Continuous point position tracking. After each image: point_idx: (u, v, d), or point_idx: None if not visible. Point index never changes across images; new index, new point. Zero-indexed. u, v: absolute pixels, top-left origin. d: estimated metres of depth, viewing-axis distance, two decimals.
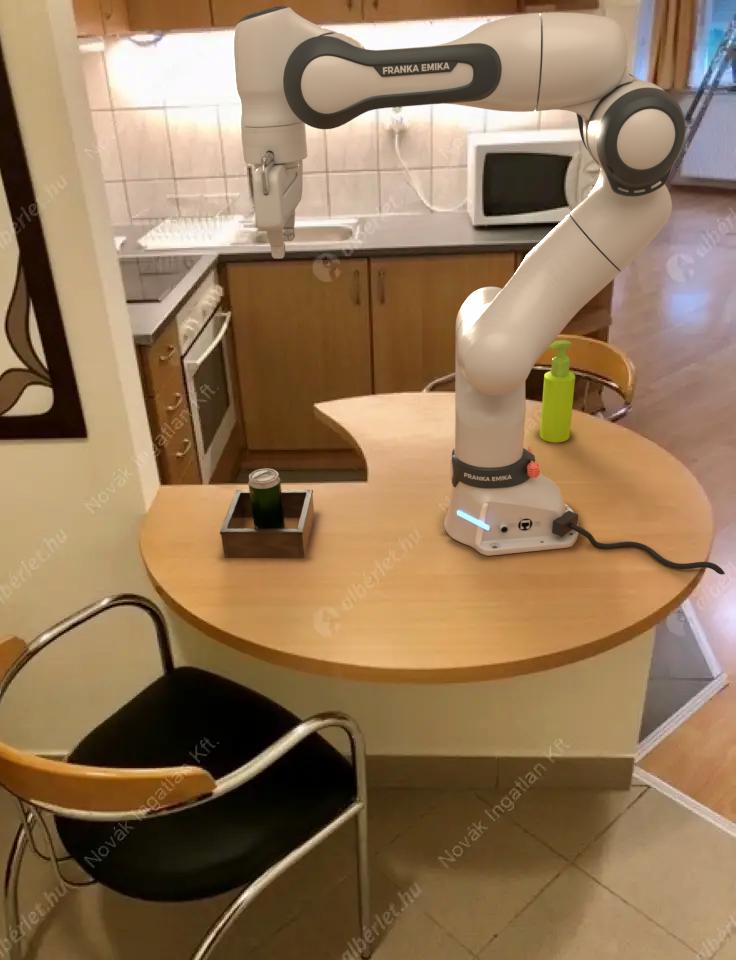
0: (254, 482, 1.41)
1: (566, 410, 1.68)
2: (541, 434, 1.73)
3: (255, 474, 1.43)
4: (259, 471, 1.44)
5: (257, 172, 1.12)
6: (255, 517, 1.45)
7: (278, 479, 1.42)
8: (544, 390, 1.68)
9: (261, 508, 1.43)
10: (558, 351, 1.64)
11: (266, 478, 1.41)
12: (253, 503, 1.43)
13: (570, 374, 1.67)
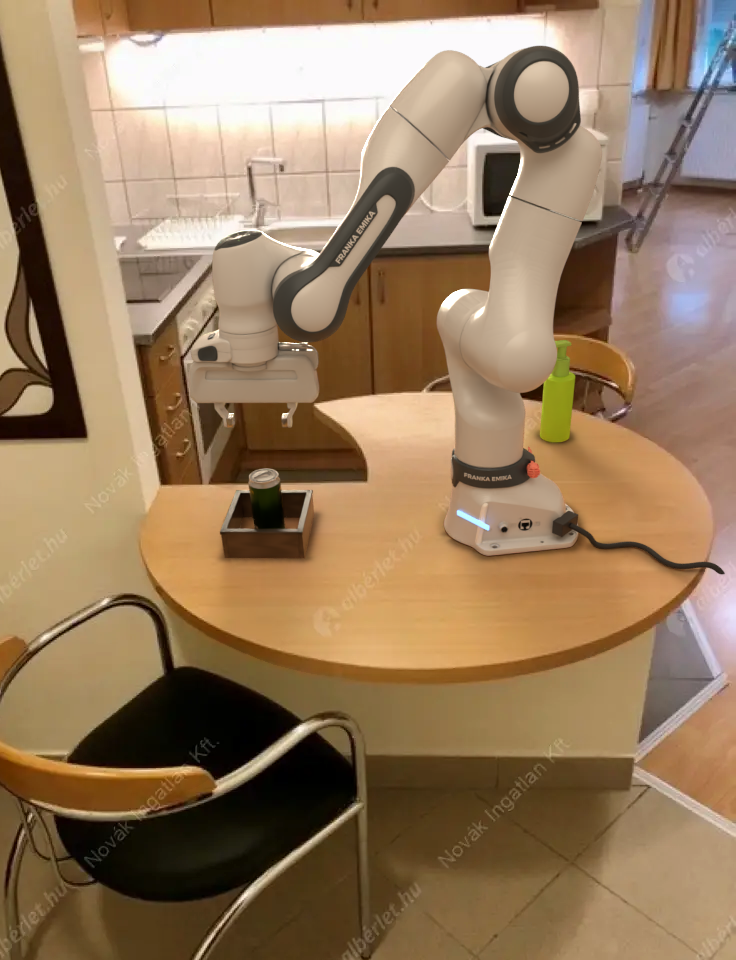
0: (254, 482, 1.41)
1: (566, 410, 1.68)
2: (541, 434, 1.73)
3: (255, 474, 1.43)
4: (259, 471, 1.44)
5: (303, 357, 1.29)
6: (255, 517, 1.45)
7: (278, 479, 1.42)
8: (544, 390, 1.68)
9: (261, 508, 1.43)
10: (558, 351, 1.64)
11: (266, 478, 1.41)
12: (253, 503, 1.43)
13: (570, 374, 1.67)
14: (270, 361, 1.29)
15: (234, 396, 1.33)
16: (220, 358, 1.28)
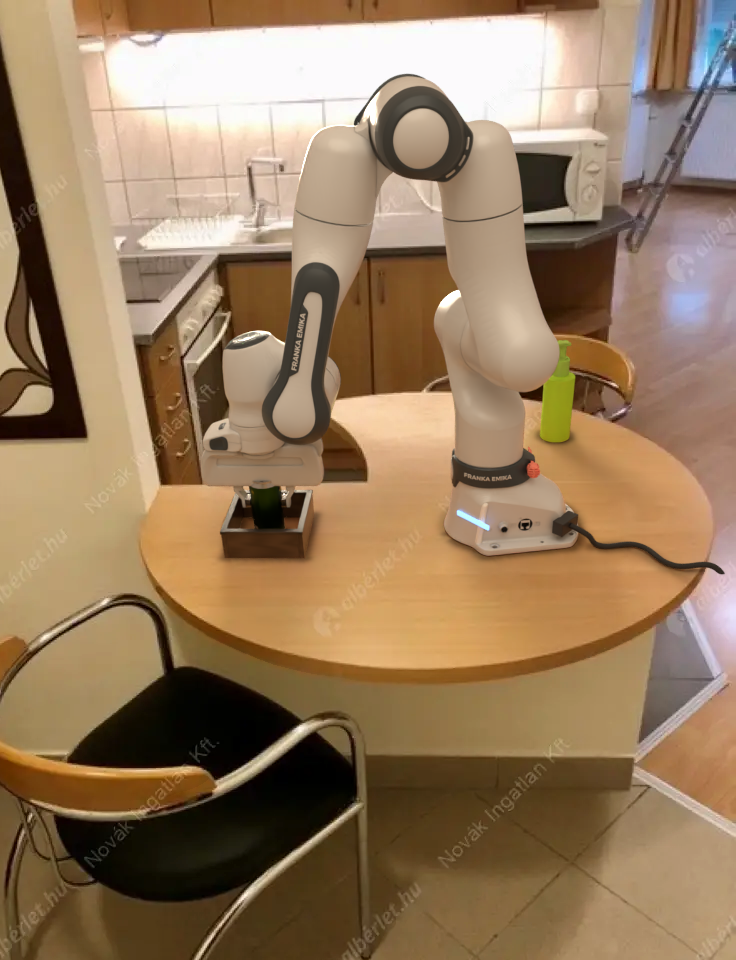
0: (254, 482, 1.41)
1: (566, 410, 1.68)
2: (541, 434, 1.73)
3: None
4: None
5: (308, 445, 1.37)
6: (255, 517, 1.45)
7: None
8: (544, 390, 1.68)
9: (261, 508, 1.43)
10: None
11: None
12: (253, 503, 1.43)
13: (570, 374, 1.67)
14: (277, 449, 1.37)
15: (244, 480, 1.41)
16: (230, 448, 1.36)
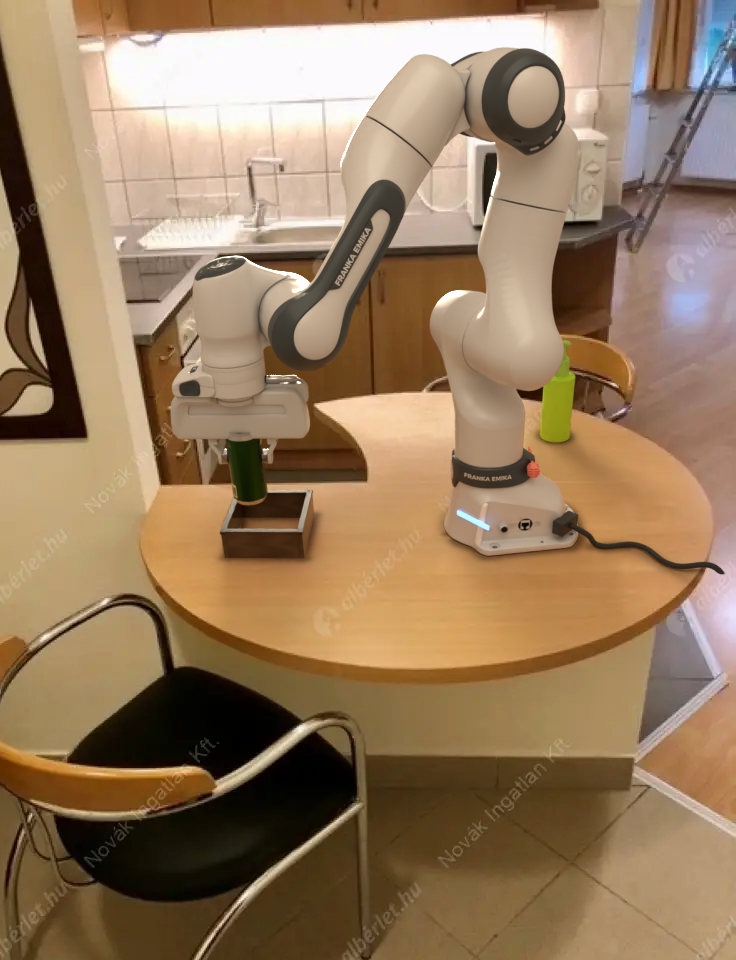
0: (231, 434, 1.24)
1: (566, 410, 1.68)
2: (541, 434, 1.73)
3: None
4: None
5: (292, 391, 1.21)
6: (233, 475, 1.28)
7: None
8: (544, 390, 1.68)
9: (239, 464, 1.26)
10: None
11: None
12: (230, 458, 1.27)
13: (570, 374, 1.67)
14: (257, 395, 1.21)
15: (219, 432, 1.25)
16: (203, 393, 1.20)
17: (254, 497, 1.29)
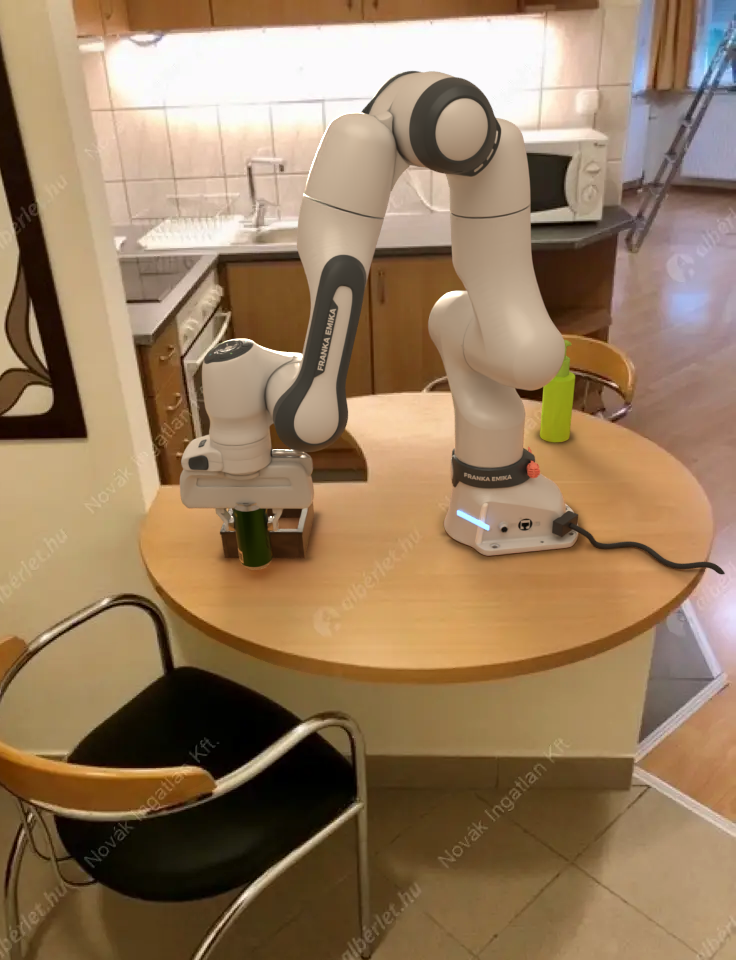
0: (238, 504, 1.29)
1: (566, 410, 1.68)
2: (541, 434, 1.73)
3: None
4: None
5: (297, 464, 1.25)
6: (239, 542, 1.33)
7: None
8: (544, 390, 1.68)
9: (245, 532, 1.31)
10: None
11: None
12: (237, 527, 1.31)
13: (570, 374, 1.67)
14: (263, 469, 1.26)
15: (226, 502, 1.29)
16: (211, 467, 1.24)
17: (260, 562, 1.34)
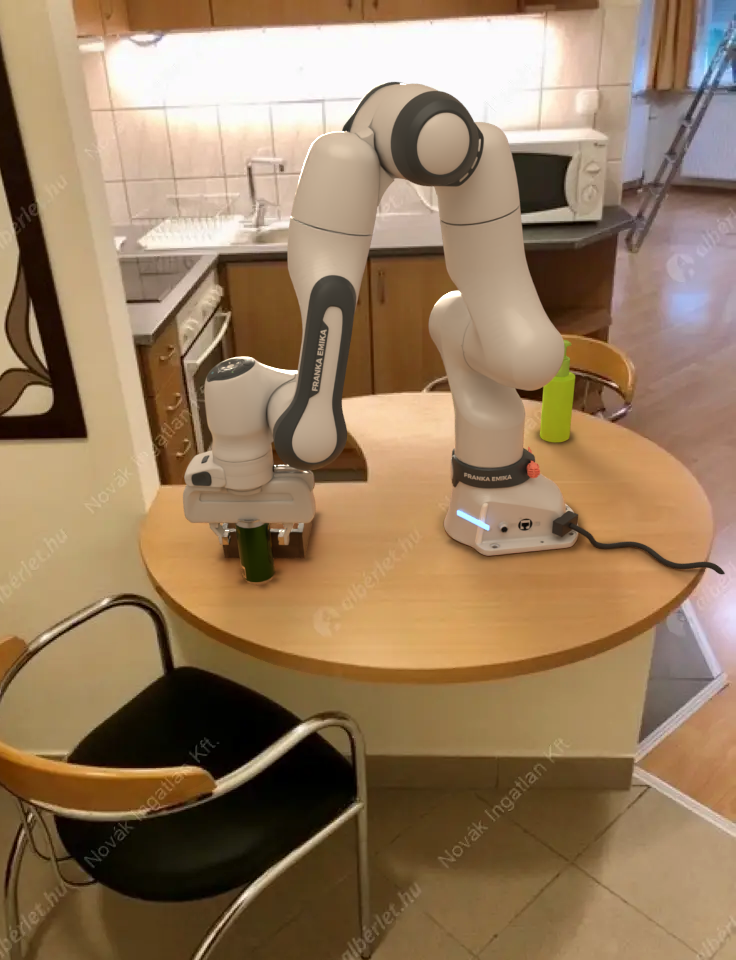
0: (240, 521, 1.31)
1: (566, 410, 1.68)
2: (541, 434, 1.73)
3: None
4: None
5: (298, 480, 1.27)
6: (242, 557, 1.34)
7: None
8: (544, 390, 1.68)
9: (248, 548, 1.33)
10: None
11: None
12: (239, 543, 1.33)
13: (570, 374, 1.67)
14: (265, 484, 1.27)
15: (229, 517, 1.31)
16: (214, 483, 1.26)
17: (262, 578, 1.36)
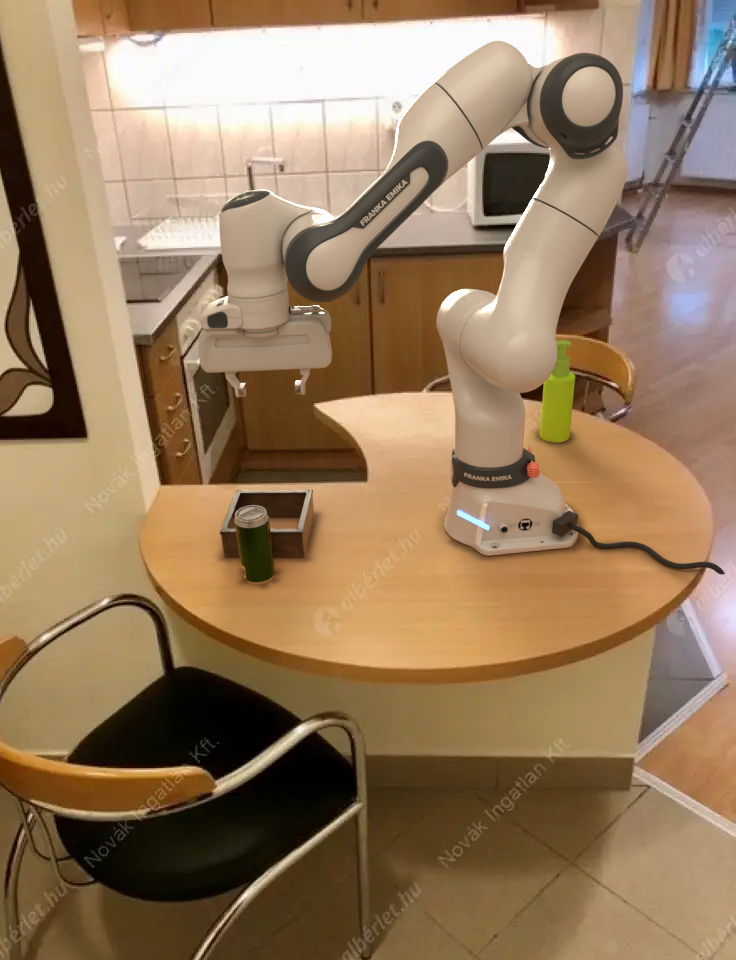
0: (240, 521, 1.31)
1: (566, 410, 1.68)
2: (541, 434, 1.73)
3: (242, 512, 1.33)
4: (246, 508, 1.33)
5: (315, 320, 1.26)
6: (242, 557, 1.34)
7: (266, 517, 1.32)
8: (544, 390, 1.68)
9: (248, 548, 1.33)
10: (558, 351, 1.64)
11: (253, 516, 1.31)
12: (239, 543, 1.33)
13: (570, 374, 1.67)
14: (281, 326, 1.26)
15: (245, 364, 1.30)
16: (230, 324, 1.25)
17: (262, 578, 1.36)
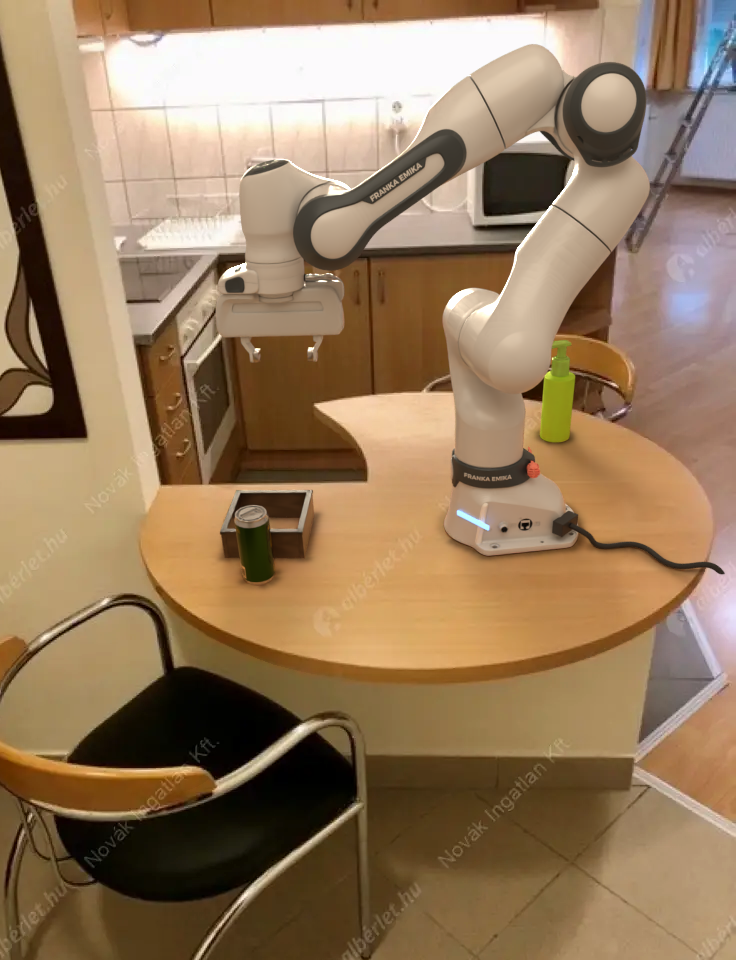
0: (240, 521, 1.31)
1: (566, 410, 1.68)
2: (541, 434, 1.73)
3: (242, 512, 1.33)
4: (246, 508, 1.33)
5: (329, 288, 1.30)
6: (242, 557, 1.34)
7: (266, 517, 1.32)
8: (544, 390, 1.68)
9: (248, 548, 1.33)
10: (558, 351, 1.64)
11: (253, 516, 1.31)
12: (239, 543, 1.33)
13: (570, 374, 1.67)
14: (296, 292, 1.31)
15: (260, 329, 1.34)
16: (247, 289, 1.29)
17: (262, 578, 1.36)
